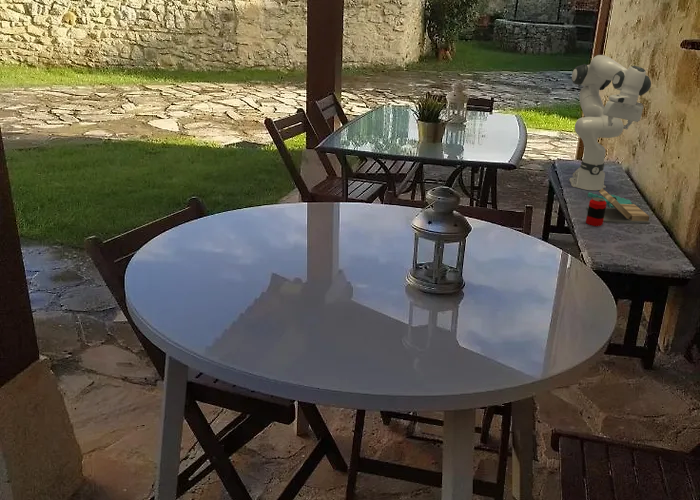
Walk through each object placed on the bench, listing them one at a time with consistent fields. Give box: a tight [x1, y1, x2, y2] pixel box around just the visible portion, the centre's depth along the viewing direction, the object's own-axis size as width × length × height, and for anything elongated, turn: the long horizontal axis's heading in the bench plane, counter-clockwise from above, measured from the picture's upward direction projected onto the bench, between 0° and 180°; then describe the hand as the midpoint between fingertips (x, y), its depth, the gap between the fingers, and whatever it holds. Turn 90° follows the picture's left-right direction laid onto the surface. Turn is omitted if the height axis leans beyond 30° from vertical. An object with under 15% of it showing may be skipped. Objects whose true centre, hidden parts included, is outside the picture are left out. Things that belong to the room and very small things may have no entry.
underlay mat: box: [585, 206, 651, 225], centre depth 331 cm, size 20×24×1 cm
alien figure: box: [587, 192, 633, 208], centre depth 351 cm, size 20×2×20 cm
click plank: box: [598, 188, 632, 219], centre depth 329 cm, size 18×12×2 cm
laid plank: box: [621, 203, 650, 221], centre depth 331 cm, size 18×8×2 cm, turn 0°
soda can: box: [585, 197, 607, 227], centre depth 318 cm, size 8×8×12 cm
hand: (617, 127), depth 338 cm, fingers open, 8 cm apart
